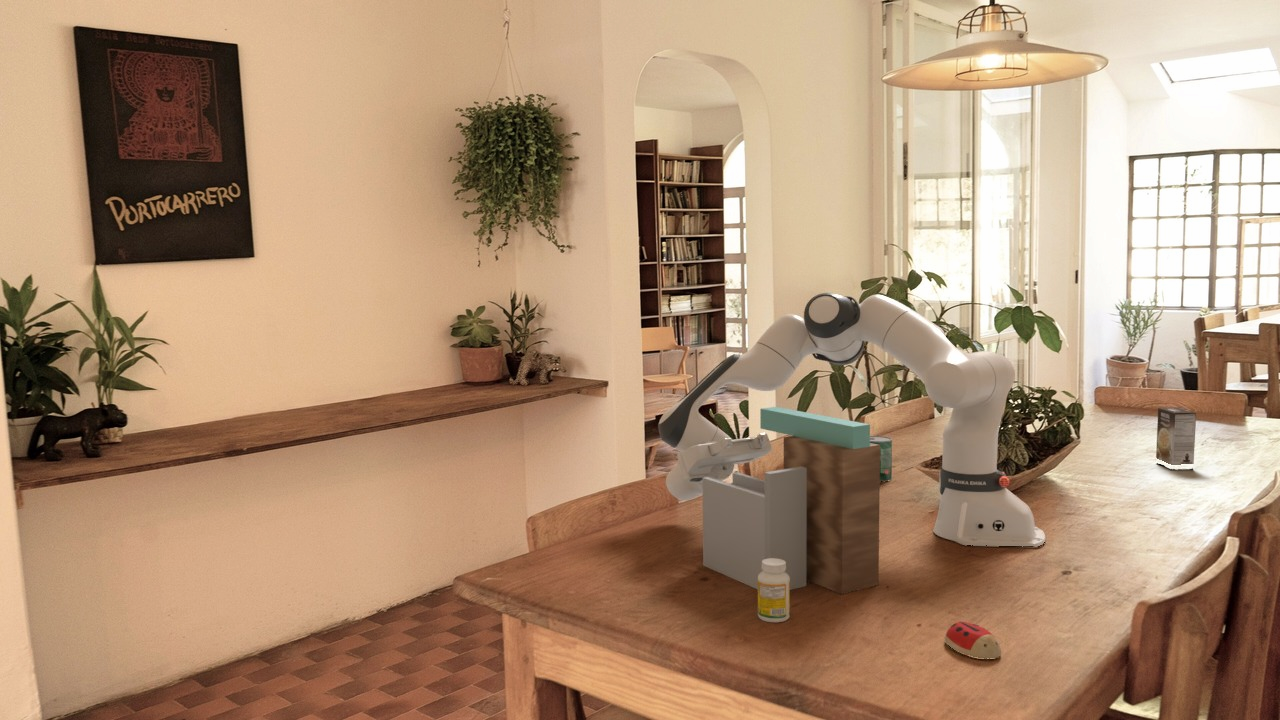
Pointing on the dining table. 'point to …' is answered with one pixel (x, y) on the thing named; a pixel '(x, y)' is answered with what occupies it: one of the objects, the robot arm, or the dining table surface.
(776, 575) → the supplement bottle
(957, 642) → the ladybug figurine
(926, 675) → the dining table surface
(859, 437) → the teal square bar
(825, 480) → the stand
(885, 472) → the canned tomato
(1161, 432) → the coffee box
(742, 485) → the grey boxy piece
